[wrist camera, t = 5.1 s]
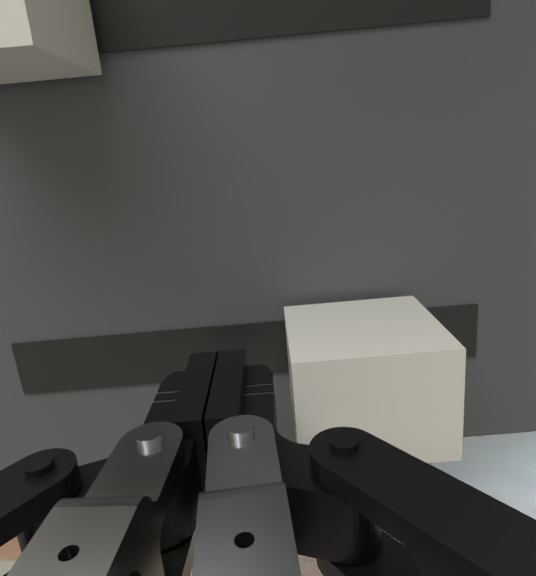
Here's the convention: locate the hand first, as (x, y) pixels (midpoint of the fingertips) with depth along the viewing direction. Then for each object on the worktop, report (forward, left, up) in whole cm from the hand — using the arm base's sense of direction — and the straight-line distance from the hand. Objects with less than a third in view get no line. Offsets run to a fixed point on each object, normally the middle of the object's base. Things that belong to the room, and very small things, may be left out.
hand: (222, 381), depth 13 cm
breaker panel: (-1, -5, -5) cm, 7 cm away
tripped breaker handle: (-4, 0, -2) cm, 4 cm away
